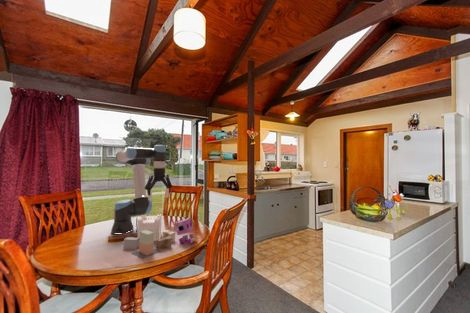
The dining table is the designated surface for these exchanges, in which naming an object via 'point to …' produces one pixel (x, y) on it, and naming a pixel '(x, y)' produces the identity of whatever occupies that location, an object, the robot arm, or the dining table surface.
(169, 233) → the maple brick
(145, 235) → the sage brick
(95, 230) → the dining table surface
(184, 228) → the toy
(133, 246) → the grey brick
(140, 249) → the terracotta brick
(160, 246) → the walnut brick
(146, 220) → the castle model
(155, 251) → the felt mat
